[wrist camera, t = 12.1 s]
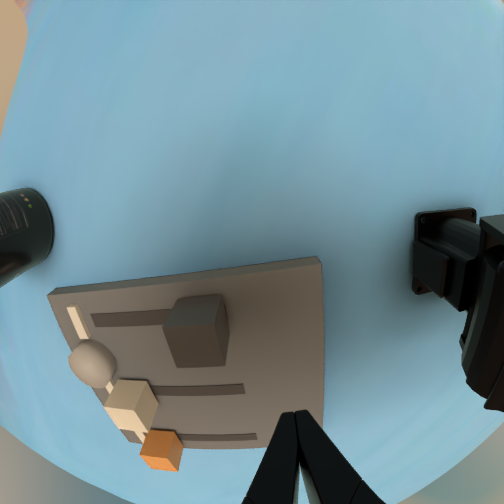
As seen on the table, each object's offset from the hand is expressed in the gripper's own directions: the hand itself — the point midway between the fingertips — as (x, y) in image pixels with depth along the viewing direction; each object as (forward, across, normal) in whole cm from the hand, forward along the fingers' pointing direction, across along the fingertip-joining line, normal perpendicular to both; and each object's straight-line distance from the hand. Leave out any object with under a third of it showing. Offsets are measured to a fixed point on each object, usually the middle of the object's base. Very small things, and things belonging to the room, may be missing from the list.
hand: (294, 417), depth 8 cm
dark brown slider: (+10, +5, +1) cm, 11 cm away
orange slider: (+10, +13, +17) cm, 23 cm away
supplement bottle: (+12, +20, -7) cm, 24 cm away
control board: (+12, +8, +9) cm, 17 cm away
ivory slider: (+10, +13, +9) cm, 19 cm away
